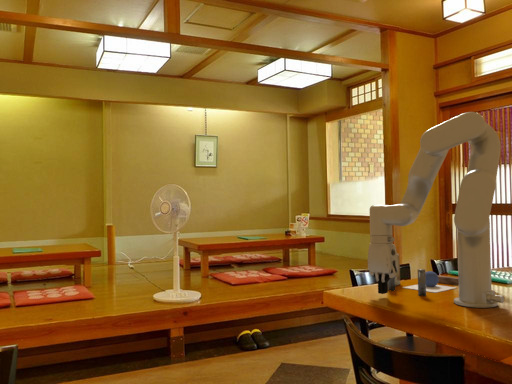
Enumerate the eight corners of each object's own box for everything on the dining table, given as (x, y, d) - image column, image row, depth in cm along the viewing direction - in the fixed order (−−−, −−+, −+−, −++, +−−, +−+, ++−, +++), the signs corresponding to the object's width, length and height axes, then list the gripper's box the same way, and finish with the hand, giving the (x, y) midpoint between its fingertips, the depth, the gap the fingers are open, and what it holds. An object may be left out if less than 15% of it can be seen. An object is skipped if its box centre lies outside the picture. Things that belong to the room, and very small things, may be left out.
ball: (439, 269, 179) (431, 278, 176) (443, 282, 181) (434, 291, 178) (425, 267, 184) (417, 275, 181) (428, 280, 186) (420, 288, 183)
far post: (396, 290, 175) (396, 266, 176) (392, 291, 174) (391, 266, 174) (391, 289, 177) (390, 265, 178) (386, 290, 176) (386, 266, 176)
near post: (427, 295, 165) (426, 269, 165) (423, 296, 163) (422, 270, 163) (421, 294, 167) (420, 268, 167) (416, 295, 165) (416, 269, 165)
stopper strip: (471, 286, 181) (470, 279, 181) (468, 286, 179) (468, 280, 180) (434, 281, 194) (433, 274, 194) (431, 281, 192) (431, 275, 193)
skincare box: (395, 286, 184) (394, 255, 184) (384, 285, 186) (383, 254, 187) (400, 284, 189) (399, 253, 189) (390, 283, 191) (389, 253, 192)
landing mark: (457, 288, 177) (457, 287, 177) (435, 292, 169) (435, 292, 169) (424, 283, 188) (424, 283, 188) (402, 287, 180) (402, 287, 180)
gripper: (406, 240, 159) (407, 294, 159) (371, 238, 171) (373, 289, 171) (392, 242, 155) (393, 297, 154) (357, 239, 167) (359, 291, 167)
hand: (382, 293), depth 163 cm, fingers closed
